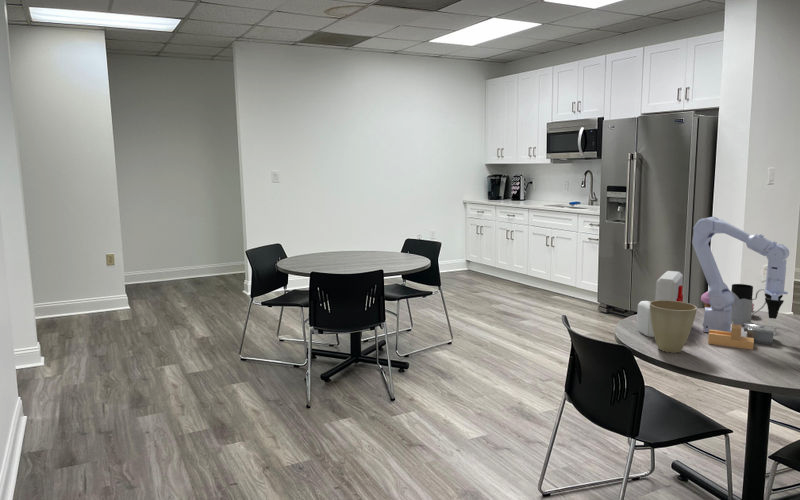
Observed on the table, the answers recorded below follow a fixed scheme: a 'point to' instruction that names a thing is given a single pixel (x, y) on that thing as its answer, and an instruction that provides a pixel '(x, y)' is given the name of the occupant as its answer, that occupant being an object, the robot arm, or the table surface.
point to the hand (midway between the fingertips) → (772, 315)
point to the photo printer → (644, 319)
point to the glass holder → (743, 304)
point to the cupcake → (705, 300)
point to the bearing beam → (730, 338)
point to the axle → (759, 328)
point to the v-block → (761, 335)
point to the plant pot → (671, 323)
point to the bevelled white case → (669, 287)
